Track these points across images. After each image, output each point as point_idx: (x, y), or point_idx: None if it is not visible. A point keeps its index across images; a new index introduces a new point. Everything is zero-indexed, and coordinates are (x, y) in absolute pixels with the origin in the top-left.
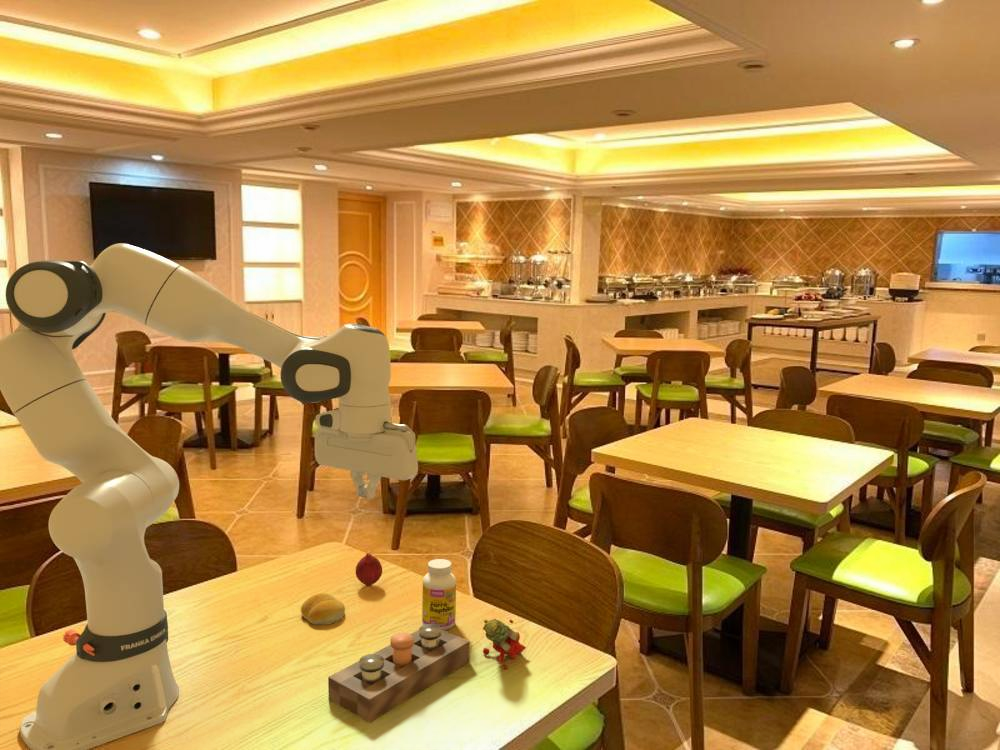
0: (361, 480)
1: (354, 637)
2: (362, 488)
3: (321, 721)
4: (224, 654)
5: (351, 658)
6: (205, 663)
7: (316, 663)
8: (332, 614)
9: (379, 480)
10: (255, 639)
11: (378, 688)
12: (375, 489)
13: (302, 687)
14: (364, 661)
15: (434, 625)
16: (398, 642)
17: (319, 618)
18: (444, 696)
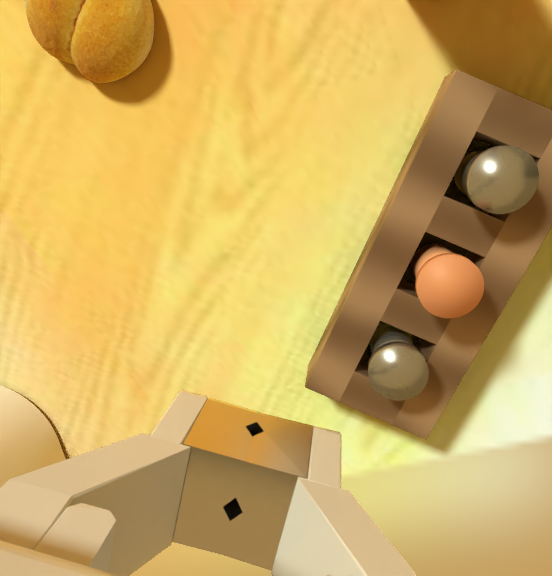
0: (137, 505)
1: (238, 109)
2: (222, 549)
3: (329, 427)
4: (17, 273)
5: (279, 208)
6: (9, 313)
7: (215, 251)
8: (137, 52)
9: (408, 567)
10: (30, 196)
11: (430, 401)
12: (340, 465)
13: (237, 340)
14: (384, 383)
15: (510, 154)
16: (447, 310)
17: (114, 77)
18: (546, 295)
